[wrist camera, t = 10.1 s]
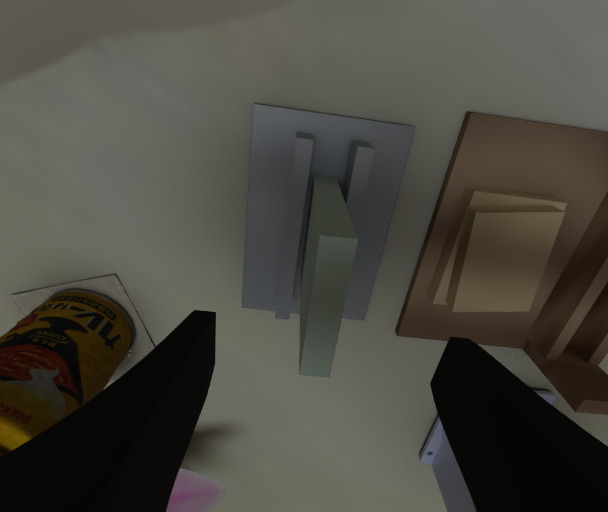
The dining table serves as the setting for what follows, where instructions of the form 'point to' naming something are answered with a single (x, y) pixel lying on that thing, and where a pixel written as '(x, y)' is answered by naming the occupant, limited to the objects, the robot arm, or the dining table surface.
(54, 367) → the condiment
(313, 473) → the dining table surface
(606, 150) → the rack
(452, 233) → the offcut lower
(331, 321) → the sheet
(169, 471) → the robot arm
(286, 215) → the stand
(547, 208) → the offcut upper
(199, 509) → the lily
